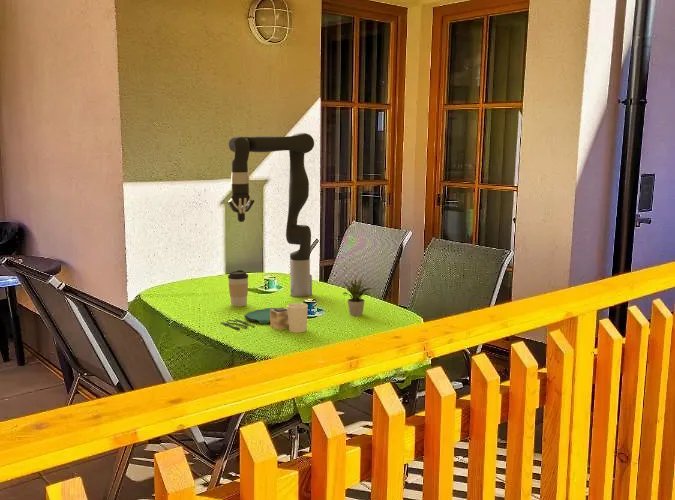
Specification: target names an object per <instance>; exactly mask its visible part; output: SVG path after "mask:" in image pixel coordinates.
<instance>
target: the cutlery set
mask: <svg viewBox="0 0 675 500" xmlns="http://www.w3.org/2000/svg"><path fill="white" fill-rule="evenodd" d="M275 308H276V307H266V308H264V309H256V310H254V311H248V312H246V314H245V315H244V318H246V320H248V321H251V322H256V323H257V322H258V323H260V324H261V325H267V324H268V323H270V310H272V309H275ZM228 321H233V322H228ZM248 321H243V320H241V319H238V318H234V320H233V319H228V320H226V322H224V321H222V322H220V324H221V325H223V326H226V325H227V327H228V326H229V328H231V329H234V328H235V330H238V331H240V330H241V328H240V326H241V327H243V328H245V329H248V328H249V326H251V327H252V328H255V325H253V324H251V323H248ZM235 322H236V323H235ZM237 322H240V323H237ZM241 323H242V324H241ZM234 325H235V326H234ZM236 325H237V326H236ZM248 325H249V326H248Z"/></svg>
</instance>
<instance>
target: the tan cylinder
mask: <svg viewBox="0 0 675 500" xmlns="http://www.w3.org/2000/svg"><path fill="white" fill-rule="evenodd" d="M308 307H309V305H308V304H307V303H304V302H303V303H302V302H293V303H288V304H287V305H286V309H287V311H288V324H289V328H288V331H289V332H290V333H294V334H296V333H297V334H301V333H305V332H307V327H308V326H307V324H308V312H309V311H308V310H309V309H308Z"/></svg>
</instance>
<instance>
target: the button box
mask: <svg viewBox="0 0 675 500" xmlns="http://www.w3.org/2000/svg"><path fill="white" fill-rule="evenodd" d="M269 323H270V325H269V326H270V327H271V328H272V329H275V330H277V331H279V330H280V331H281V330H286V329H289V324H288V311H283V312H277V311H274V309H272V310H270V322H269Z"/></svg>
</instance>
